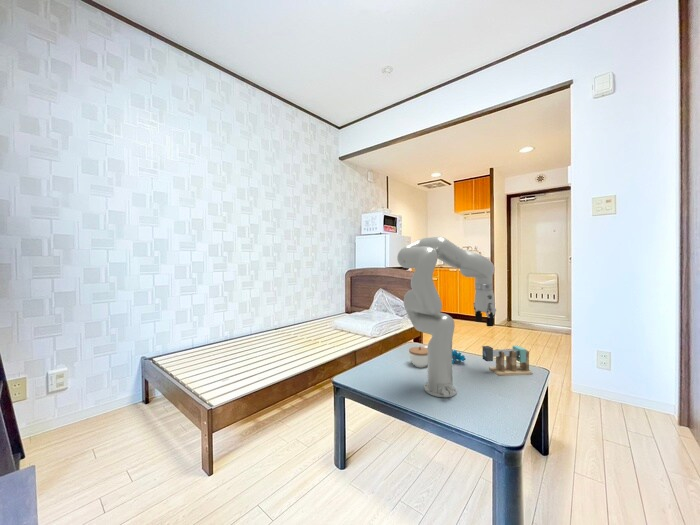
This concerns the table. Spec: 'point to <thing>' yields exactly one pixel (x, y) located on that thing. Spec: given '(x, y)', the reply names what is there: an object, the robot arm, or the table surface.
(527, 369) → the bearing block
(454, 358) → the blue coral
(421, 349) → the lidded jar
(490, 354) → the grey mallet
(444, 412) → the table surface
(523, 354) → the block
